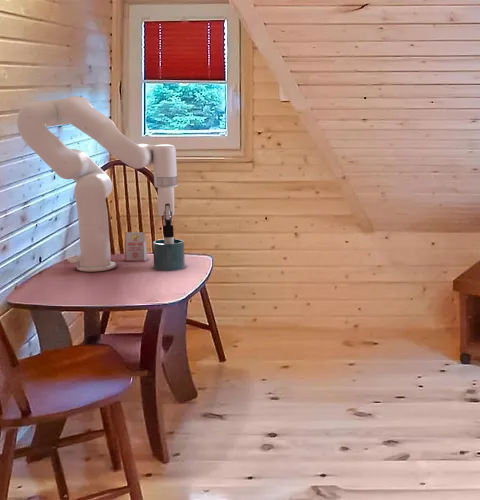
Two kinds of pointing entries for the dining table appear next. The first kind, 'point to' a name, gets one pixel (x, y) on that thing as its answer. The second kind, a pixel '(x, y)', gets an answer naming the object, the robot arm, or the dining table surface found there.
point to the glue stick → (168, 240)
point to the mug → (168, 255)
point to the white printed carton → (135, 246)
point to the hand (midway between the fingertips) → (168, 235)
